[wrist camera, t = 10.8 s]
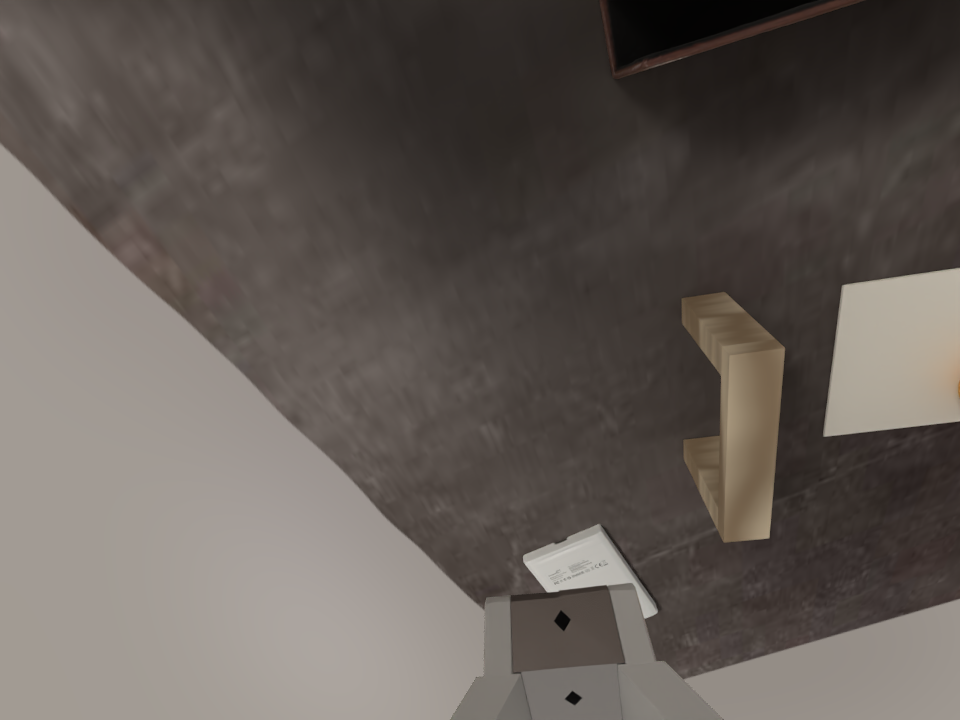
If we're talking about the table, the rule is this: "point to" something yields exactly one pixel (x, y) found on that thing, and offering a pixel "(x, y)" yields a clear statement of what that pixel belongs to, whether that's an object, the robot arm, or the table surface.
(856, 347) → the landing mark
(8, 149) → the table surface
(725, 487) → the bridge
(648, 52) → the letter holder
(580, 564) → the external hard drive
